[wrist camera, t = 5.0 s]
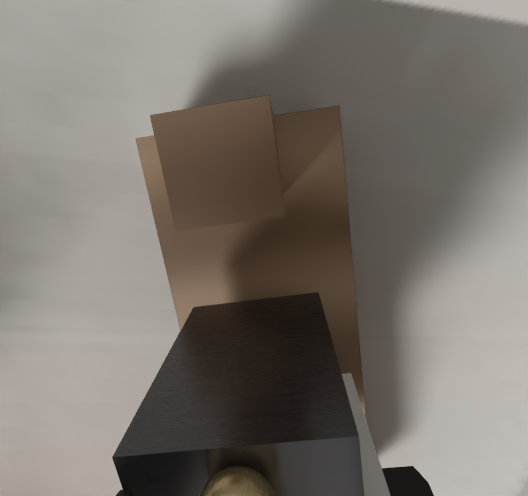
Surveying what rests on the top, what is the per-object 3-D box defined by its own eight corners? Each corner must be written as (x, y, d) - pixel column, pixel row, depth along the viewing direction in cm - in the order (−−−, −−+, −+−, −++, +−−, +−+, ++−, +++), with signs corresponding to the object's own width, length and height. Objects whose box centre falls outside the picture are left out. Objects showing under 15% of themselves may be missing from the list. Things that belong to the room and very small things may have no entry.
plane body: (167, 141, 17) (56, 130, 9) (325, 116, 17) (373, 77, 8) (239, 480, 23) (214, 676, 14) (359, 471, 22) (409, 672, 14)
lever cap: (193, 307, 14) (72, 529, 6) (318, 292, 13) (379, 508, 5) (228, 464, 16) (176, 788, 8) (337, 455, 16) (400, 786, 7)
